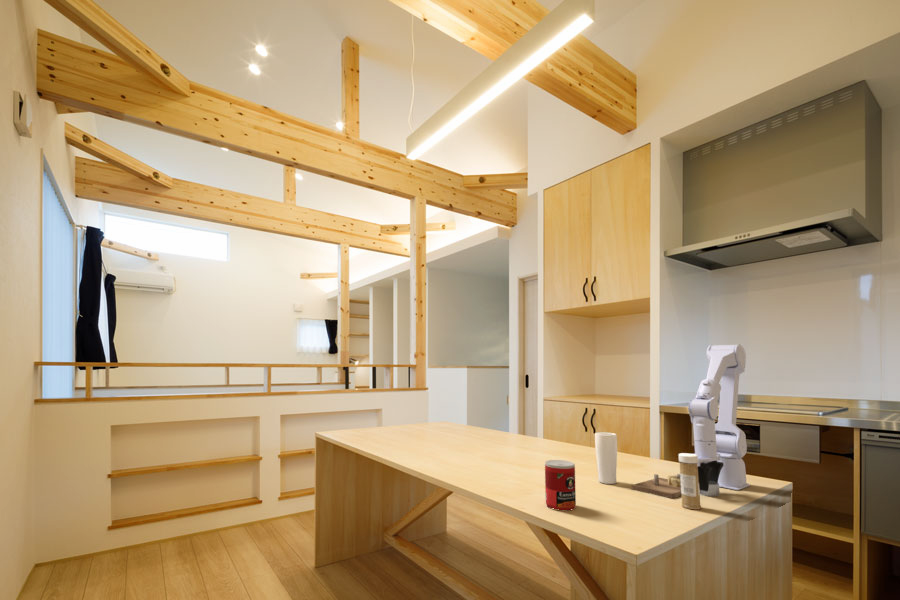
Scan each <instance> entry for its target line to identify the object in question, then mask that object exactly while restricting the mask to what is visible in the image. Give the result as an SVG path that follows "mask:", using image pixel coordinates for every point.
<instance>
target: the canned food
mask: <svg viewBox="0 0 900 600" xmlns="http://www.w3.org/2000/svg"><path fill="white" fill-rule="evenodd" d="M544 483H545V505H546V506H547V507H548V508H549V507H550V508H549V509H551V508H554V509H559V510H570V511H572V510H571V509H573V510H575V508H576V504H577V502H576V501H577V500H576V499H577V497H576V496H577V495H576V466H575V463H574V462H572V461H569V460H564V459H550V460H546V461H545V462H544ZM554 509H553V510H554ZM559 510H558V511H559Z"/></svg>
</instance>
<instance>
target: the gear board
mask: <svg viewBox="0 0 900 600" xmlns="http://www.w3.org/2000/svg"><path fill="white" fill-rule="evenodd" d="M653 477H654V478H652V479H649V480H646V481H642V482H638V483H634V484H631V490H633V489H634V491H637V492H638V491H639V492H643V493H647V494H650V493H651V495H656V496H660V497H664V498H667V499H674V498H678V497H682V494H681V480H680V473H676V475H675V474H674V475H668V476H667V478H664V477H659V474H657V473H654V475H653Z"/></svg>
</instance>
